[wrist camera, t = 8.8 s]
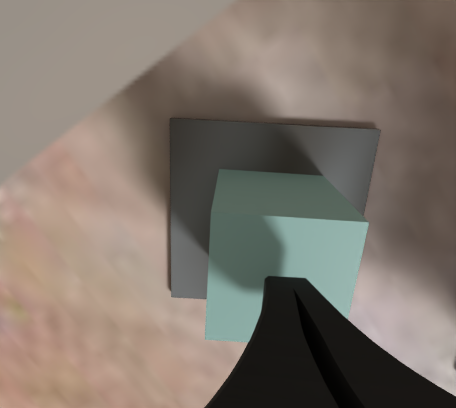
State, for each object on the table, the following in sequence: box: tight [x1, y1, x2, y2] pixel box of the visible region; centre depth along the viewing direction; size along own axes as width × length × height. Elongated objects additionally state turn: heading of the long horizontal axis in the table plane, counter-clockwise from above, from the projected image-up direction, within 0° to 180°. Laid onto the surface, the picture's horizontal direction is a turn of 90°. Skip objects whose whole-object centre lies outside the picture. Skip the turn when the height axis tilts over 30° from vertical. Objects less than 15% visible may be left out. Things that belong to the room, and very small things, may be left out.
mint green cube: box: [205, 169, 369, 342], centre depth 15 cm, size 5×5×6 cm
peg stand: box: [170, 118, 381, 299], centre depth 15 cm, size 10×10×5 cm
